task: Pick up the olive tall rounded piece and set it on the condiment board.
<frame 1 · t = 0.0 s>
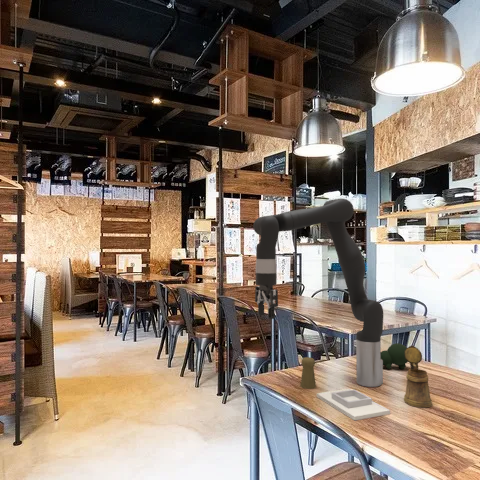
hand: (266, 316, 149), 29 cm above the table, tool pointing down, fingers open, 8 cm apart
toy figurine: (386, 368, 186), on the table
condiment board: (351, 404, 144), on the table
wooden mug: (416, 401, 148), on the table
olive tall rounded piece: (308, 386, 162), on the table
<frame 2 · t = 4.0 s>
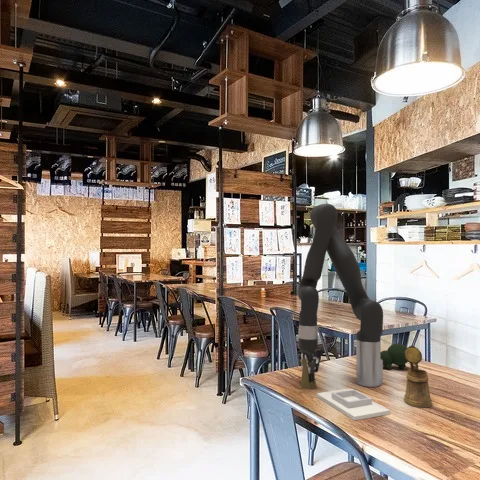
hand: (308, 380, 163), 2 cm above the table, tool pointing down, fingers closed on olive tall rounded piece, 4 cm apart
olive tall rounded piece: (308, 386, 162), on the table, touching gripper
everything else where it was.
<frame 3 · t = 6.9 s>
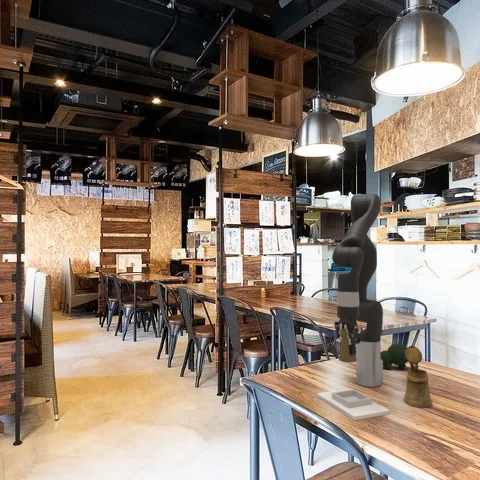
hand: (347, 353, 145), 17 cm above the table, tool pointing down, fingers closed on olive tall rounded piece, 4 cm apart
olive tall rounded piece: (347, 360, 145), point 15 cm above the table, touching gripper
everything else where it was.
when the fingers open (6 cm above the table, at t = 10.0 s): olive tall rounded piece drops 2 cm, resting on condiment board.
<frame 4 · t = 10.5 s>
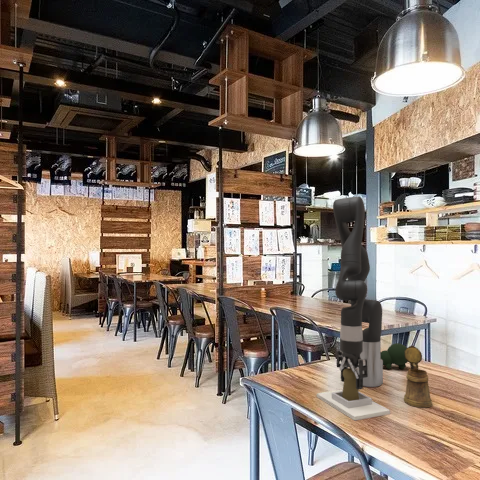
hand: (351, 385, 144), 7 cm above the table, tool pointing down, fingers open, 8 cm apart
olive tall rounded piece: (350, 401, 144), point 1 cm above the table, touching condiment board
everything else where it was.
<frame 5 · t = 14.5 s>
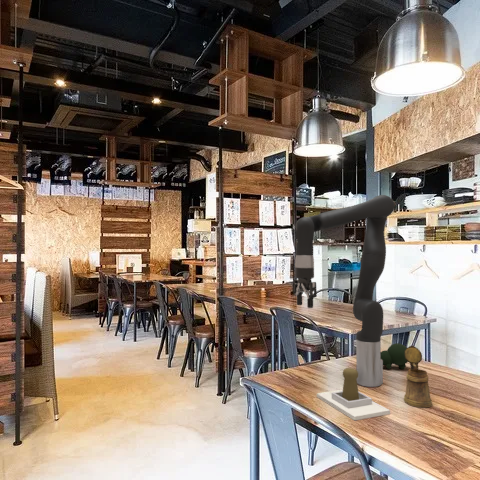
hand: (304, 306, 169), 30 cm above the table, tool pointing down, fingers open, 8 cm apart
nothing on the table moved.
at the end: olive tall rounded piece 0.5 cm off-centre on the condiment board, point 1.0 cm above the condiment board's base; olive tall rounded piece tilted 0°; the gripper is holding nothing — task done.
